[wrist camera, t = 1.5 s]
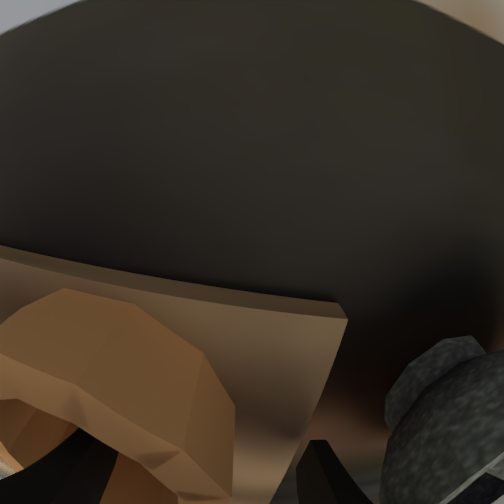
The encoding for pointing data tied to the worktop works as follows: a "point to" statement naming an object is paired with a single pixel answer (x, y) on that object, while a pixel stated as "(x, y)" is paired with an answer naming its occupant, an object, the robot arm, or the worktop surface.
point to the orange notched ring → (116, 398)
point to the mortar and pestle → (446, 428)
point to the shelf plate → (217, 350)
